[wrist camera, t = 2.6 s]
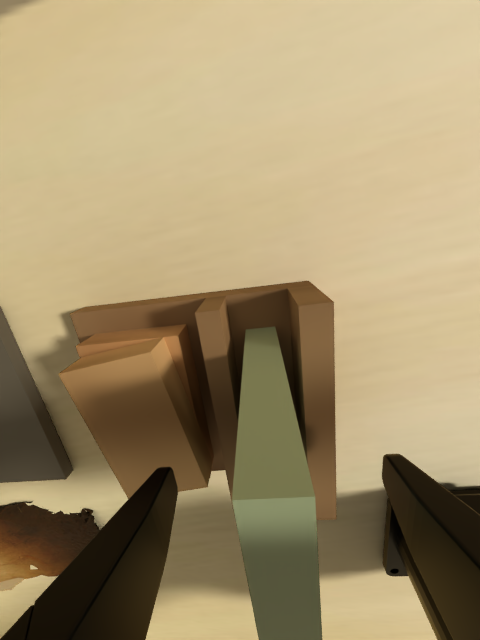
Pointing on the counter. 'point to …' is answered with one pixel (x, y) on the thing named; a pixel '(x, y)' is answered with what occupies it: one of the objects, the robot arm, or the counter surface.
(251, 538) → the block
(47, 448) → the mat
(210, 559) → the counter surface
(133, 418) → the offcut upper
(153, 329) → the offcut lower
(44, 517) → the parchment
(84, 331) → the rack
